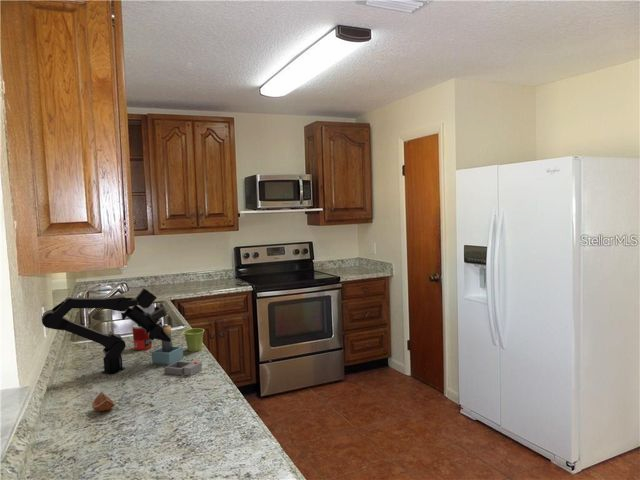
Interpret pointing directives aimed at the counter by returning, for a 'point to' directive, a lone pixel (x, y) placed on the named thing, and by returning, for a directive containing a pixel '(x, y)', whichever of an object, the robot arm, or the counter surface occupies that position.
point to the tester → (183, 368)
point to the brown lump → (102, 402)
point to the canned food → (141, 339)
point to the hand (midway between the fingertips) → (169, 339)
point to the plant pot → (194, 339)
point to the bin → (167, 356)
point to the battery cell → (166, 345)
